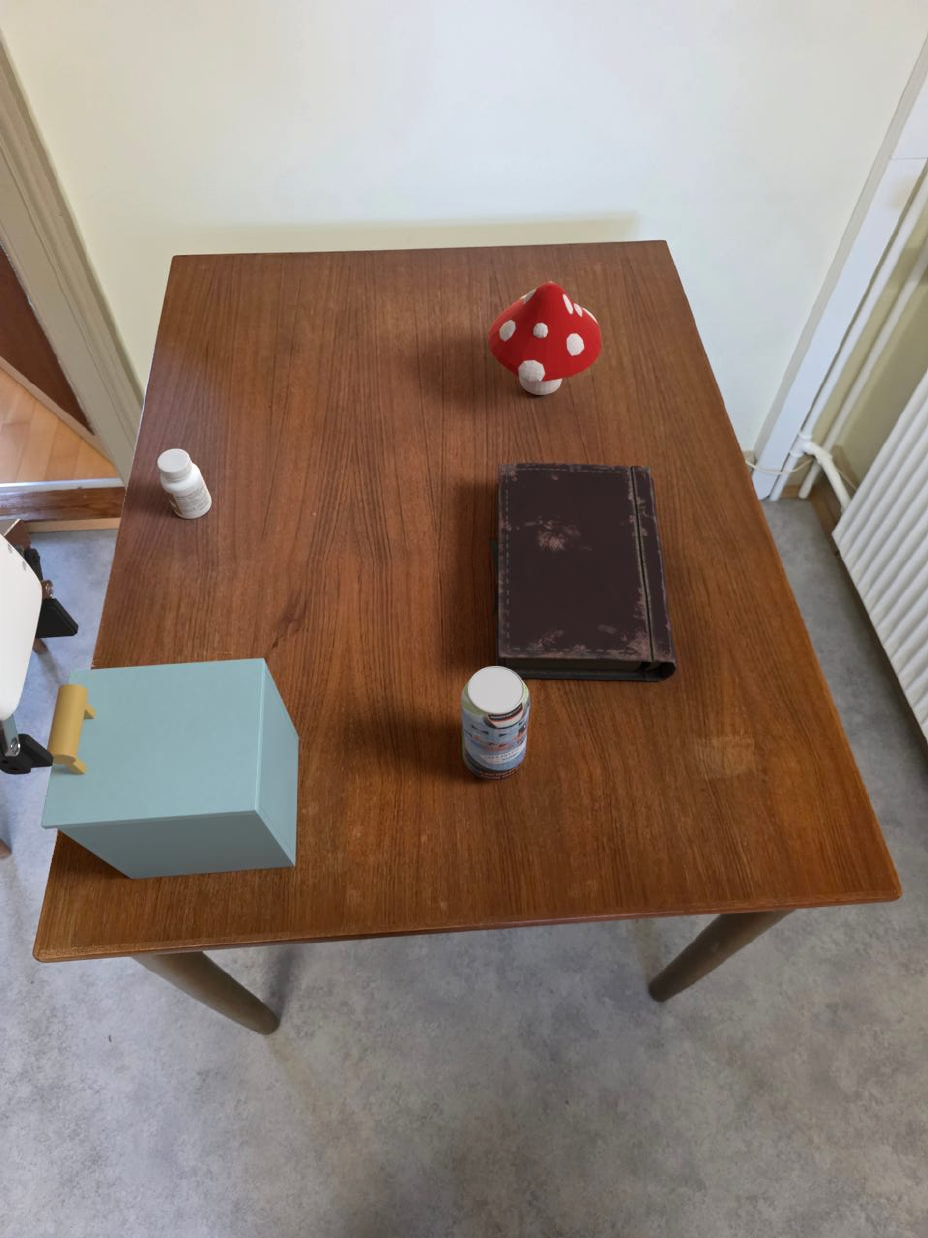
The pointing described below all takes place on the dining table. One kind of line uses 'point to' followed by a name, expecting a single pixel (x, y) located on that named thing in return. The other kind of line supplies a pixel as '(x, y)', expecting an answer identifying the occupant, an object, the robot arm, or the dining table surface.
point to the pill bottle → (183, 484)
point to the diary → (580, 573)
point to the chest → (216, 820)
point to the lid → (156, 743)
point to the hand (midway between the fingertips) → (44, 695)
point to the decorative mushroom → (545, 338)
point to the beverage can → (494, 723)
